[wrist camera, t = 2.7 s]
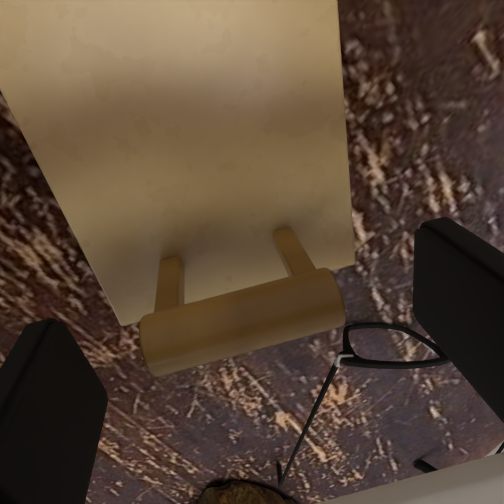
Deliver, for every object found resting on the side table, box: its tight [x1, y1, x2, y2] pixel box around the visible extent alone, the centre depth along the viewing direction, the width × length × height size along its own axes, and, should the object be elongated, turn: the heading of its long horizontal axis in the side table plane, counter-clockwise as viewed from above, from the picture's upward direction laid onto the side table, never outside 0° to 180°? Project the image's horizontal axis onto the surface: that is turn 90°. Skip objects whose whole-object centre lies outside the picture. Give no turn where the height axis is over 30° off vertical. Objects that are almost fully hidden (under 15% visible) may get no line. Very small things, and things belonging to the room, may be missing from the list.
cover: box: [0, 0, 355, 377], centre depth 9 cm, size 13×9×6 cm
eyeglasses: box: [276, 323, 504, 488], centre depth 26 cm, size 16×16×4 cm
